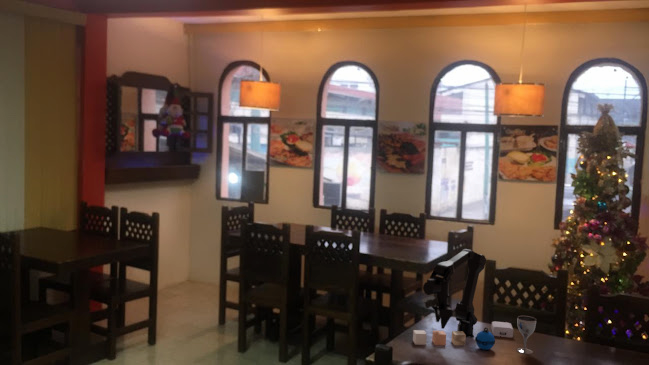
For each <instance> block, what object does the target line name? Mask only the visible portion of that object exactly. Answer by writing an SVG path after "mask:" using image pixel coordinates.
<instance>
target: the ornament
mask: <svg viewBox="0 0 649 365" xmlns="http://www.w3.org/2000/svg"><path fill="white" fill-rule="evenodd" d="M474 337H475V339H474V341H475V343H476V345H477V347H478V348H479V349H481V350H483V351H488V350H490V349H493V347H494V346H495V344H496V338H495V336H494V335H493V333H492V332H490V331H489V328H488V327H484V328H483V330H481V331H479V332H478V333H477V334H476V336H474Z"/></svg>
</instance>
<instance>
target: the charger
mask: <svg viewBox="0 0 649 365" xmlns="http://www.w3.org/2000/svg"><path fill="white" fill-rule="evenodd" d="M491 333H492V334H493V336H494V337H500V336H501V338H502V337H503V338H513V337H514V328H513V325H512V323H511V322H507V321H505V322H504V321H491Z"/></svg>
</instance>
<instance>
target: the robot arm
mask: <svg viewBox="0 0 649 365" xmlns="http://www.w3.org/2000/svg"><path fill="white" fill-rule="evenodd" d="M465 263H466V266H467V269H468V273H467V277H466V280H465V286H464V290H463V294H462V299H461V301H459V302H457V303H456V304H455V305H456V306H455V309H454V311H453V309H452V308H451V307H449V306H450V304H449V298H450V293H449V291H450V290H449V289H450V282H452V281H453V279H452V278H451V276H453V275H454V274H455V270H456V269H458V268H459V267H461V266H462V265H463V264H465ZM486 264H487V258H486V256H485V254H480V253H478V252H475V251H474V250H471V249H467V248H463V249H462V250H461V251H460V252H459V253H457V254H456V255H454V256H453V257H452V258H450V259H449V260H447V261H442V262H438V263H436V265H435V266H434V268H433V270H432V272H431V274H430V276H429V279H428V278H427V279H426V282H424V284H423V286H422V290H423V293H424V294H425V295H427V297H425V298H422V304H423V306H424V307H425V309H429V308H432V309H433V312H434V315H435V322H436V323H439V322H440V327H441V328H440V329H445V327H446V326H447V324H448V322H449V321H450V319H451V318H452V317H453V316H454V315H455V320H456V321H457V322H458V324H457V328H456V329H457V330H456V331H463V332H464V333H465V335H466V337H467V338H473V337H475V335H474V326H475V325H476V324H477V323H478V318H477V316H476V315H475V307H474V304H473V302H474V298H475V297H474V296H475V292H476V289H477V285H478V280H479V277H480V273H481V272H482V271H483V270H484V269H485V266H486Z"/></svg>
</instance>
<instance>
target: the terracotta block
mask: <svg viewBox="0 0 649 365" xmlns="http://www.w3.org/2000/svg"><path fill="white" fill-rule="evenodd" d="M431 339H432V340H431V341H432V343H433V345H434V346H446V344H447V343H446V342H447V333H446V332H445V331H444V330H432V338H431Z"/></svg>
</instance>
